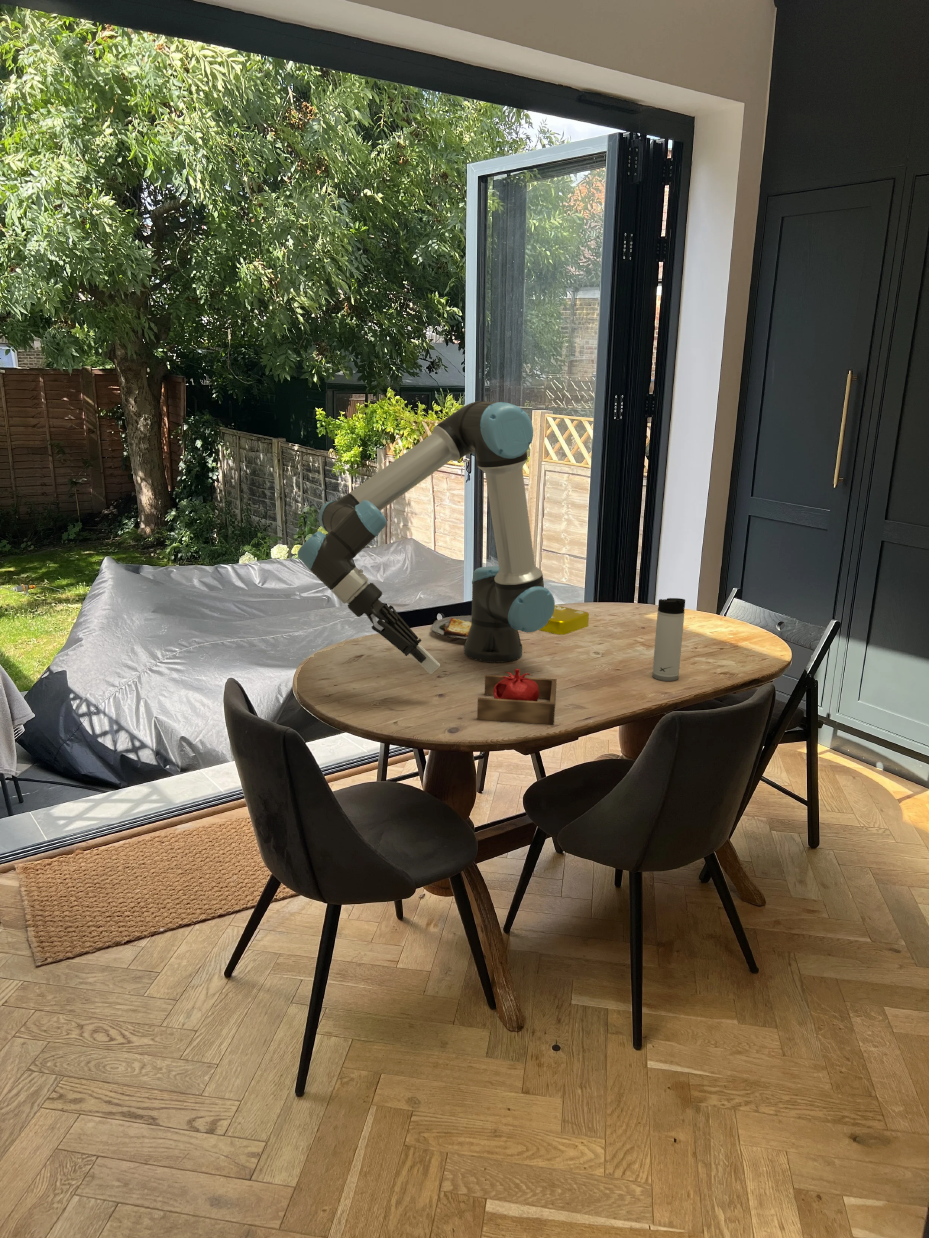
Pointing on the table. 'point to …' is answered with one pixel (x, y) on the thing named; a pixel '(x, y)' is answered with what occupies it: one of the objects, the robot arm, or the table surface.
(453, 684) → the table surface
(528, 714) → the box
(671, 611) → the travel mug
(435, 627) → the food plate
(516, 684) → the pomegranate
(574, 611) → the element tile
